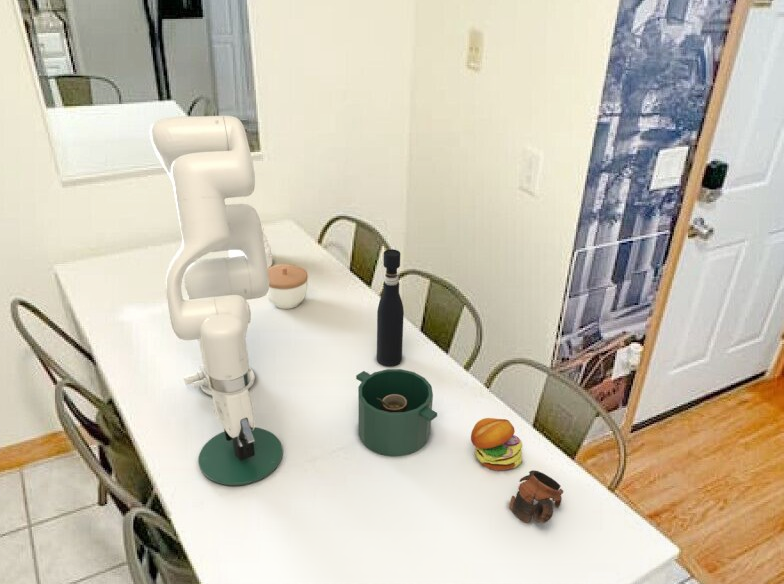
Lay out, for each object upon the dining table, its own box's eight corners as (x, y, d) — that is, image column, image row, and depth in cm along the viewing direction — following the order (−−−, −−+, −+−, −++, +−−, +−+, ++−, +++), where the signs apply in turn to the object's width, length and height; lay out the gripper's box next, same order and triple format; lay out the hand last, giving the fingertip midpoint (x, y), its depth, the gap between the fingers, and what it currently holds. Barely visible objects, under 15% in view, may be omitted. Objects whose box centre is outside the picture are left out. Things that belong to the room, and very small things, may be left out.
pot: (406, 473, 131) (408, 431, 125) (335, 427, 142) (333, 386, 135) (453, 436, 141) (457, 395, 135) (383, 395, 152) (384, 355, 145)
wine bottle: (398, 368, 161) (402, 260, 144) (373, 364, 162) (374, 256, 145) (404, 354, 166) (408, 248, 149) (380, 350, 167) (382, 245, 150)
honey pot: (223, 269, 198) (215, 214, 188) (240, 252, 209) (234, 199, 198) (263, 275, 197) (257, 219, 186) (278, 257, 207) (273, 204, 197)
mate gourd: (416, 433, 141) (418, 398, 135) (386, 445, 137) (387, 409, 131) (399, 415, 145) (400, 380, 140) (370, 426, 142) (370, 390, 136)
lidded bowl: (318, 300, 186) (316, 266, 180) (288, 318, 177) (285, 283, 171) (286, 287, 191) (283, 254, 185) (255, 304, 182) (251, 269, 176)
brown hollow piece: (499, 496, 128) (519, 461, 126) (538, 509, 131) (557, 476, 130) (520, 531, 117) (542, 494, 115) (561, 545, 120) (583, 509, 119)
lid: (232, 500, 123) (228, 477, 119) (182, 459, 131) (177, 436, 127) (299, 456, 133) (297, 434, 130) (249, 420, 142) (246, 398, 138)
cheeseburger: (510, 482, 131) (505, 442, 126) (465, 470, 136) (458, 431, 132) (531, 453, 138) (527, 415, 133) (487, 443, 144) (482, 406, 139)
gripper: (194, 360, 124) (207, 430, 134) (227, 408, 113) (238, 480, 123) (231, 348, 128) (241, 417, 138) (267, 394, 117) (275, 465, 127)
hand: (240, 446), depth 131 cm, fingers open, 6 cm apart
